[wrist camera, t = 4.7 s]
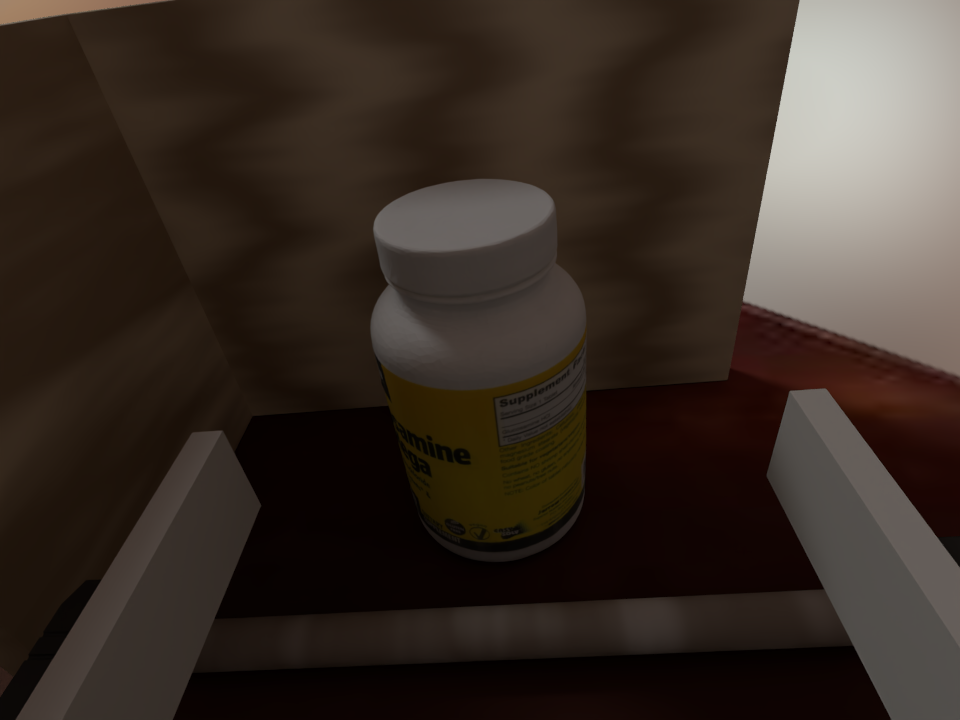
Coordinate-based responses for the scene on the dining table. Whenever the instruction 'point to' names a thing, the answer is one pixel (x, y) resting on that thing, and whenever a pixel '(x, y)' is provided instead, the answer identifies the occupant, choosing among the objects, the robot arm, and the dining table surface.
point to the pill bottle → (483, 365)
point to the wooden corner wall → (353, 262)
